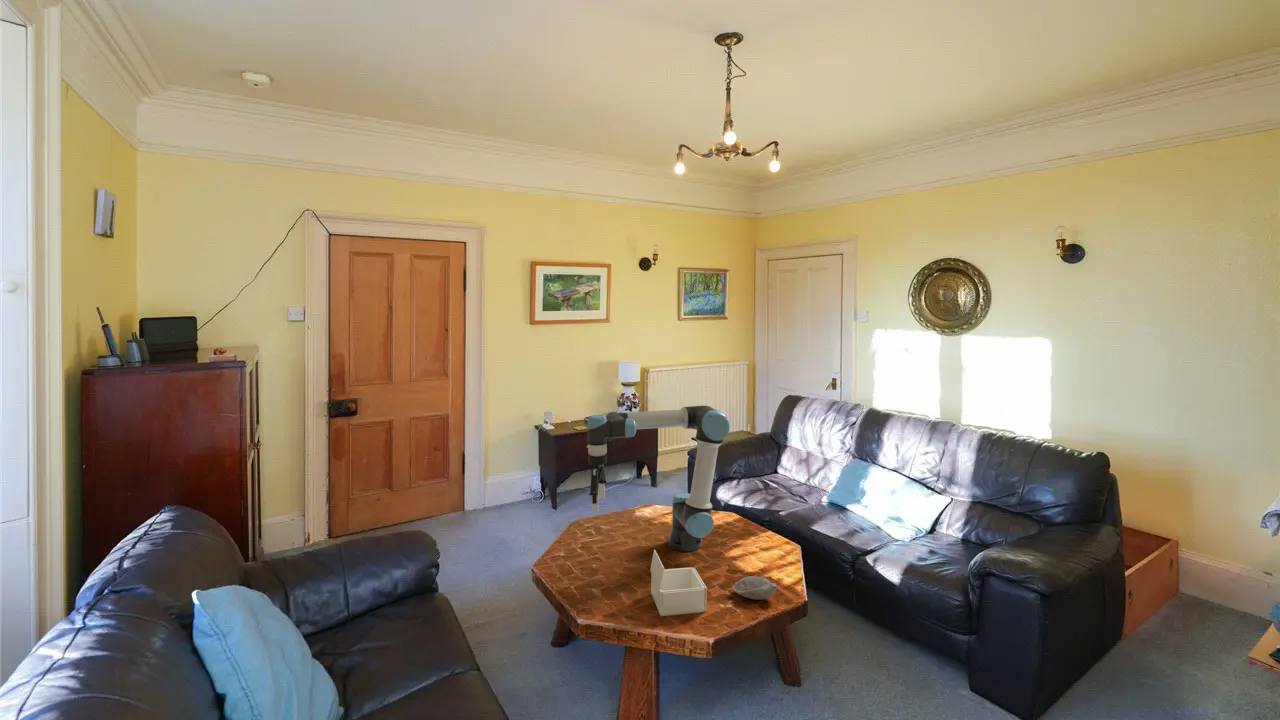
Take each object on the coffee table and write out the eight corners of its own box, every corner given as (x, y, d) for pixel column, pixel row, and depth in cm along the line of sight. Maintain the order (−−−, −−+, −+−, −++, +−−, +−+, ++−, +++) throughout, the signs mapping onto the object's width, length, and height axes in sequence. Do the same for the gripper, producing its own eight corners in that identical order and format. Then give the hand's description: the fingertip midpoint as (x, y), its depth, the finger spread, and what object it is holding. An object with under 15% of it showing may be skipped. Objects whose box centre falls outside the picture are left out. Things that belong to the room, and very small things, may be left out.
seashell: (726, 581, 225) (755, 570, 216) (746, 579, 233) (775, 568, 223) (733, 607, 221) (763, 597, 212) (754, 604, 228) (783, 594, 219)
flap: (655, 549, 223) (654, 549, 223) (664, 568, 208) (663, 568, 208) (651, 570, 224) (650, 570, 224) (660, 590, 209) (659, 590, 208)
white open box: (693, 588, 229) (694, 566, 228) (707, 612, 212) (707, 588, 211) (650, 592, 226) (651, 570, 225) (660, 617, 209) (661, 592, 208)
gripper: (594, 445, 253) (595, 493, 256) (581, 462, 229) (582, 515, 231) (611, 445, 252) (612, 494, 255) (600, 462, 228) (601, 516, 230)
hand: (598, 504), depth 243 cm, fingers open, 13 cm apart
